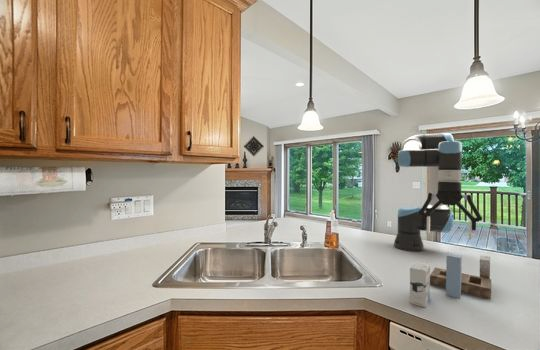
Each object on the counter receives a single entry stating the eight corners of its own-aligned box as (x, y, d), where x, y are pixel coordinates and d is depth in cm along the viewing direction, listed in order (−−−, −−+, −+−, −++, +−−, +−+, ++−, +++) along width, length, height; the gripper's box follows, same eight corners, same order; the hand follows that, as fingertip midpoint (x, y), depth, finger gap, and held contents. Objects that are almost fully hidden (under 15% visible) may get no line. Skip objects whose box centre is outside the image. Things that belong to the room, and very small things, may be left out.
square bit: (445, 294, 93) (446, 255, 92) (447, 291, 96) (448, 252, 95) (459, 298, 90) (460, 257, 90) (461, 294, 93) (461, 255, 93)
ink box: (414, 294, 93) (414, 260, 93) (430, 298, 90) (430, 264, 90) (408, 303, 87) (409, 267, 86) (425, 308, 83) (426, 271, 83)
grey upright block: (479, 284, 101) (479, 259, 101) (480, 279, 106) (480, 255, 106) (489, 287, 99) (490, 260, 99) (489, 281, 104) (490, 256, 104)
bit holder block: (429, 284, 101) (430, 275, 101) (434, 275, 110) (435, 267, 110) (490, 299, 90) (490, 289, 90) (491, 288, 98) (491, 279, 98)
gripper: (411, 180, 107) (410, 232, 107) (491, 182, 91) (490, 243, 91) (415, 180, 113) (414, 229, 113) (491, 182, 97) (490, 239, 97)
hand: (448, 235), depth 102 cm, fingers open, 13 cm apart
